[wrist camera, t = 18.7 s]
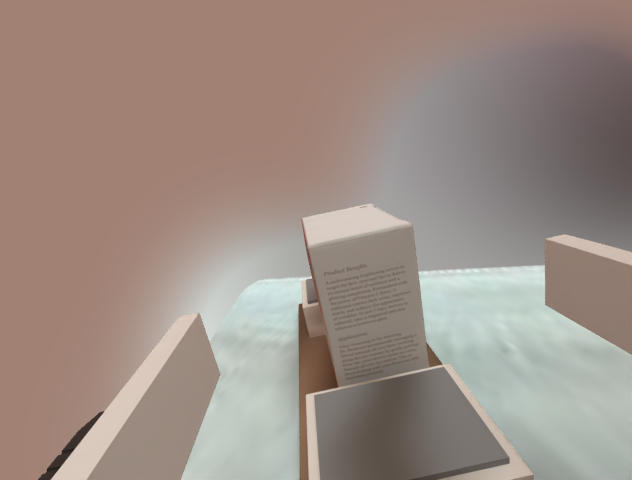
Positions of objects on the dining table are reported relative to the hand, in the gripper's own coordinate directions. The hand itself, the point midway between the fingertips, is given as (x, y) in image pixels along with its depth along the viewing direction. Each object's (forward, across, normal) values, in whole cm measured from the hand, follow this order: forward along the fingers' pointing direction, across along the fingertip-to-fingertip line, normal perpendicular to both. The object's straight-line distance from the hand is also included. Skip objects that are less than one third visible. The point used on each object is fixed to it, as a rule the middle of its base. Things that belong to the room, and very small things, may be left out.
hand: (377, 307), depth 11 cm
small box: (+8, 0, -9) cm, 12 cm away
